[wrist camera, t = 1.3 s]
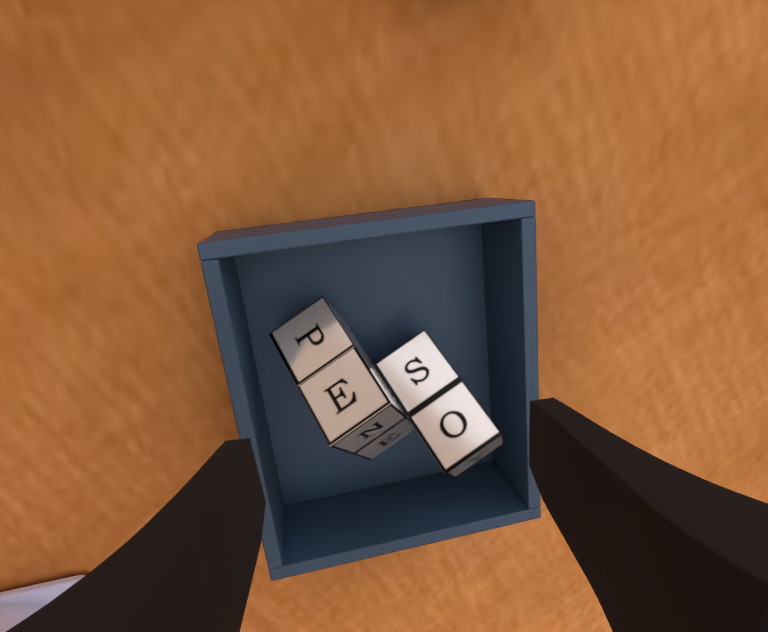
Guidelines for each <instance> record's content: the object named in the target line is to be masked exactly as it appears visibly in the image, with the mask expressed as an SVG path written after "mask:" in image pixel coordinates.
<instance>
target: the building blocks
mask: <svg viewBox="0 0 768 632" xmlns="http://www.w3.org/2000/svg"><path fill="white" fill-rule="evenodd" d="M269 335H270V337H271V339H272V341H273V343H274V345H275V346H276V348H277V350H278V352H279V354H280V356H281V357H282V359H283V361H284V363H285V365H286V367H287V368H288V370H289V372H290V374H291V376H292V378H293V380H294V381H295V383H296V385H297V387H298V389H299V391H300V392H301V394H302V396H303V398H304V400H305V402H306V403H307V405H308V407H309V409H310V411H311V413H312V414H313V416H314V418H315V420H316V422H317V424H318V425H319V427H320V429H321V431H322V433H323V435H324V436H325V438H326V440H327V442H328V444H329V446H330V447H332V448H335V449H338V450H341V451H344V452H347V453H350V454H353V455H356V456H359V457H362V458H365V459H368V460H373V459H374V458H375V457H377V456H378V455H380V454H381V453H383V452H384V451H385V450H387V449H388V448H390V447H391V446H393V445H394V444H395V443H397V442H398V441H400V440H401V439H403V438H404V437H405V436H407V435H408V434H410V433H411V432H412V431H414V430H416V431H417V433H418V434H419V436H420V437H421V439H422V440H423V442H424V443H425V445H426V446H427V448H428V450H429V451H430V453H431V454H432V456H433V457H434V459H435V460H436V462H437V463H438V465H439V466H440V468H441V470H442V471H443V473H444V474H445V475H447V476H449V477H451V478H455V477H456V476H457V475H459V474H460V473H462V472H463V471H465V470H466V469H467V468H469V467H470V466H472V465H473V464H475V463H476V462H477V461H479V460H480V459H482V458H483V457H484V456H486V455H487V454H489V453H490V452H492V451H493V450H494V449H496V448H497V447H499V446H500V445H502V444H503V443H504V442H503V437H502V434H501V432H500V431H499V430H498V428H497V427H496V426H495V424H494V423H493V421H492V420H491V419H490V417H489V416H488V415H487V413H486V412H485V411H484V409H483V408H482V407H481V405H480V404H479V403H478V401H477V400H476V399H475V397H474V396H473V395H472V393H471V392H470V390H469V389H468V388H467V386H466V385H465V384H464V382H463V381H462V380H461V378H460V377H459V376H458V374H457V373H456V372H455V370H454V369H453V368H452V366H451V365H450V364H449V362H448V361H447V360H446V358H445V357H444V355H443V354H442V353H441V351H440V350H439V349H438V347H437V346H436V345H435V343H434V342H433V341H432V339H431V338H430V337H429V335H428V334H427V333H426V331H425V330H424V331H422V332H421V333H419V334H418V335H416V336H415V337H414V338H412V339H411V340H409V341H408V342H406V343H405V344H404V345H402V346H401V347H399V348H398V349H397V350H395V351H394V352H392V353H391V354H389V355H388V356H387V357H385V358H384V359H382V360H381V361H379V362H378V363H377V364H375V365H373V363H372V362H371V360H370V359H369V357H368V356H367V354H366V353H365V351H364V350H363V348H362V346H361V345H360V343H359V342H358V340H357V339H356V337H355V336H354V334H353V333H352V331H351V330H350V328H349V326H348V325H347V323H346V322H345V320H344V319H343V318H342V317H341V316H340V315H339V314H338V312H337V311H336V310H335V309H334V308H333V307H332V306H331V305H330V304H329V303H328V301H327V300H326V299H325V298H324V297H323V296H322V297H321V298H319V299H318V300H317V301H315V302H314V303H312V304H311V305H309V306H308V307H307V308H305V309H304V310H302V311H301V312H299V313H298V314H297V315H295V316H294V317H292V318H291V319H289V320H288V321H287V322H285V323H284V324H282V325H281V326H279V327H278V328H277V329H275V330H274V331H272V332H271V333H269Z"/></svg>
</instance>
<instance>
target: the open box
mask: <svg viewBox="0 0 768 632" xmlns="http://www.w3.org/2000/svg"><path fill="white" fill-rule="evenodd" d="M534 216H535V201H533V200H517V199H500V198H482V199H474V200H466V201H458V202H450V203H442V204H434V205H426V206H418V207H410V208H402V209H394V210H386V211H378V212H370V213H362V214H354V215H346V216H338V217H330V218H322V219H314V220H306V221H298V222H290V223H281V224H273V225H265V226H257V227H249V228H241V229H233V230H225V231H217V232H215V233H214V234H213V235H211V236H209V237H208V238H206V239H204V240H203V241H201V242H200V243H198V244H197V248H198V252H199V257H200V260H202V261H201V266H202V270H203V275H204V279H205V284H206V288H207V293H208V298H209V302H210V307H211V311H212V316H213V320H214V325H215V329H216V334H217V338H218V343H219V347H220V352H221V356H222V361H223V365H224V370H225V375H226V379H227V384H228V388H229V393H230V397H231V402H232V406H233V411H234V415H235V420H236V424H237V429H238V433H239V438H240V439H245V438H250V441H251V444H252V448H253V452H254V456H255V460H256V464H257V468H258V472H259V476H260V480H261V484H262V488H263V492H264V496H265V500H266V504H265V514H264V524H263V532H262V542H263V547H264V551H265V556H266V560H267V565H268V568H269V574H270V578H271V581H274V580H278V579H282V578H286V577H291V576H295V575H299V574H303V573H308V572H312V571H316V570H320V569H325V568H329V567H333V566H337V565H341V564H346V563H350V562H354V561H358V560H363V559H367V558H371V557H375V556H380V555H384V554H388V553H392V552H397V551H401V550H405V549H409V548H413V547H418V546H422V545H426V544H430V543H435V542H439V541H443V540H447V539H452V538H456V537H460V536H464V535H469V534H473V533H477V532H481V531H485V530H490V529H494V528H498V527H502V526H507V525H511V524H515V523H519V522H524V521H528V520H532V519H536V518H540V517H541V510H540V492H539V489H538V487H537V484H536V482H535V479H534V477H533V474H532V472H531V469H530V467H529V421H530V401H533V400H539V389H538V330H537V270H536V218H535V217H534ZM322 296H323V297H324V298H325V299H326V300H327V301H328V303H329V304H330V305H331V306H332V307H333V308H334V309H335V310H336V311H337V312H338V314H339V315H340V316H341V317H342V318H343V319H344V320H345V322H346V323H347V325H348V326H349V328H350V330H351V331H352V333H353V334H354V336H355V337H356V339H357V340H358V342H359V343H360V345H361V346H362V348H363V350H364V351H365V353H366V354H367V356H368V357H369V359H370V360H371V362H372V363H373V365H375V364H377V363H378V362H379V361H381V360H382V359H384V358H385V357H387V356H388V355H389V354H391V353H392V352H394V351H395V350H397V349H398V348H399V347H401V346H402V345H404V344H405V343H406V342H408V341H409V340H411V339H412V338H414V337H415V336H416V335H418V334H419V333H421V332H422V331H424V330H425V331H426V333H427V334H428V335H429V337H430V338H431V339H432V341H433V342H434V343H435V345H436V346H437V347H438V349H439V350H440V351H441V353H442V354H443V355H444V357H445V358H446V360H447V361H448V362H449V364H450V365H451V366H452V368H453V369H454V370H455V372H456V373H457V374H458V376H459V377H460V378H461V380H462V381H463V382H464V384H465V385H466V386H467V388H468V389H469V390H470V392H471V393H472V395H473V396H474V397H475V399H476V400H477V401H478V403H479V404H480V405H481V407H482V408H483V409H484V411H485V412H486V413H487V415H488V416H489V417H490V419H491V420H492V421H493V423H494V424H495V426H496V427H497V428H498V430H499V431H500V432H501V434H502V437H503V442H504V443H503V444H502V445H500V446H499V447H497V448H496V449H494V450H493V451H492V452H490V453H489V454H487V455H486V456H484V457H483V458H482V459H480V460H479V461H477V462H476V463H475V464H473V465H472V466H470V467H469V468H467V469H466V470H465V471H463V472H462V473H460V474H459V475H457V476H456V477H455V478H451V477H449V476H447V475H445V474H444V473H443V471H442V470H441V468H440V466H439V465H438V463H437V462H436V460H435V459H434V457H433V456H432V454H431V453H430V451H429V450H428V448H427V446H426V445H425V443H424V442H423V440H422V439H421V437H420V436H419V434H418V433H417V431H416V430H414V431H412V432H411V433H410V434H408V435H407V436H405V437H404V438H403V439H401V440H400V441H398V442H397V443H395V444H394V445H393V446H391V447H390V448H388V449H387V450H385V451H384V452H383V453H381V454H380V455H378V456H377V457H375V458H374V459H373V460H368V459H365V458H362V457H359V456H356V455H353V454H350V453H347V452H344V451H341V450H338V449H335V448H332V447H330V446H329V444H328V442H327V440H326V438H325V436H324V435H323V433H322V431H321V429H320V427H319V425H318V424H317V422H316V420H315V418H314V416H313V414H312V413H311V411H310V409H309V407H308V405H307V403H306V402H305V400H304V398H303V396H302V394H301V392H300V391H299V389H298V387H297V385H296V383H295V381H294V380H293V378H292V376H291V374H290V372H289V370H288V368H287V367H286V365H285V363H284V361H283V359H282V357H281V356H280V354H279V352H278V350H277V348H276V346H275V345H274V343H273V341H272V339H271V337H270V335H269V333H271V332H272V331H274V330H275V329H277V328H278V327H279V326H281V325H282V324H284V323H285V322H287V321H288V320H289V319H291V318H292V317H294V316H295V315H297V314H298V313H299V312H301V311H302V310H304V309H305V308H307V307H308V306H309V305H311V304H312V303H314V302H315V301H317V300H318V299H319V298H321V297H322Z"/></svg>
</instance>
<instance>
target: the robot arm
mask: <svg viewBox="0 0 768 632" xmlns="http://www.w3.org/2000/svg"><path fill="white" fill-rule="evenodd" d="M529 467H530V469H531V472H532V474H533V477H534V479H535V482H536V484H537V487H538V489H539V492H540V494H541V496H542V499H543V501H544V503H545V505H546V506H547V508H548V510H549V512H550V514H551V515H552V517H553V519H554V521H555V523H556V524H557V526H558V528H559V530H560V531H561V533H562V535H563V537H564V538H565V540H566V542H567V544H568V545H569V547H570V549H571V551H572V552H573V554H574V556H575V558H576V560H577V561H578V563H579V565H580V567H581V568H582V570H583V572H584V574H585V575H586V577H587V579H588V581H589V582H590V584H591V586H592V588H593V590H594V592H595V594H596V596H597V598H598V600H599V602H600V604H601V606H602V609H603V611H604V613H605V615H606V618H607V620H608V622H609V624H610V626H611V629H612V631H613V632H768V504H767V503H764V502H761V501H759V500H756V499H753V498H751V497H748V496H745V495H742V494H740V493H737V492H734V491H731V490H729V489H726V488H724V487H721V486H719V485H716V484H714V483H711V482H709V481H706V480H704V479H702V478H700V477H697V476H695V475H693V474H691V473H688V472H686V471H684V470H682V469H679V468H677V467H675V466H673V465H671V464H669V463H667V462H665V461H663V460H661V459H659V458H657V457H655V456H653V455H651V454H649V453H647V452H645V451H643V450H641V449H640V448H638V447H636V446H634V445H632V444H630V443H629V442H627V441H625V440H623V439H622V438H620V437H618V436H616V435H615V434H613V433H611V432H609V431H608V430H606V429H604V428H603V427H601V426H599V425H598V424H596V423H594V422H593V421H591V420H590V419H588V418H586V417H585V416H583V415H581V414H580V413H578V412H577V411H575V410H573V409H572V408H570V407H568V406H567V405H565V404H563V403H562V402H560V401H558V400H556V399H554V398H548V399H540V400H533V401H530V421H529ZM265 504H266V500H265V496H264V492H263V488H262V484H261V480H260V476H259V472H258V468H257V464H256V460H255V456H254V452H253V448H252V444H251V441H250V438H245V439H237V440H229V441H225V442H224V443H223V444H222V445H221V446H220V447H219V448H218V450H217V451H216V452H215V453H214V454H213V455H212V456H211V457H210V458H209V459H208V461H207V462H206V463H205V464H204V465H203V466H202V467H201V468H200V469H199V471H198V472H197V473H196V474H195V475H194V476H193V477H192V478H191V479H190V480H189V481H188V482H187V483H186V485H185V486H184V487H183V488H182V489H181V490H180V491H179V492H178V493H177V494H176V495H175V496H174V497H173V498H172V499H171V500H170V501H169V502H168V503H167V504H166V505H165V506H164V507H163V508H162V509H161V510H160V511H159V512H158V513H157V514H156V515H155V516H154V517H153V518H152V519H151V520H150V521H149V522H148V523H147V524H146V525H145V526H144V527H143V528H142V529H141V530H140V531H138V532H137V533H136V534H135V535H134V536H133V537H132V538H131V539H130V540H128V541H127V542H126V543H125V544H124V545H123V546H122V547H120V548H119V549H118V550H117V551H116V552H114V553H113V554H112V555H111V556H110V557H108V558H107V559H106V560H105V561H104V562H102V563H101V564H100V565H99V566H97V567H96V568H95V569H94V570H92V571H91V572H90V573H88V574H87V575H76V576H72V577H67V578H63V579H58V580H54V581H49V582H45V583H40V584H35V585H31V586H26V587H22V588H17V589H13V590H8V591H4V592H0V632H240V628H241V624H242V619H243V615H244V611H245V607H246V603H247V599H248V595H249V591H250V587H251V582H252V578H253V574H254V570H255V566H256V562H257V557H258V553H259V549H260V544H261V540H262V532H263V524H264V514H265Z"/></svg>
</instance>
